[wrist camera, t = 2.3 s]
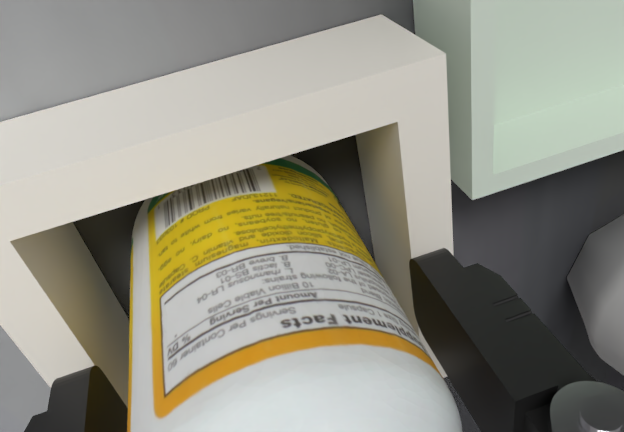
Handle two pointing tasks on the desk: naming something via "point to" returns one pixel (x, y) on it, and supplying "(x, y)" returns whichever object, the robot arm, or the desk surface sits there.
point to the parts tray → (527, 85)
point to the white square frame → (216, 171)
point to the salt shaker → (602, 291)
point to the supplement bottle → (269, 316)
